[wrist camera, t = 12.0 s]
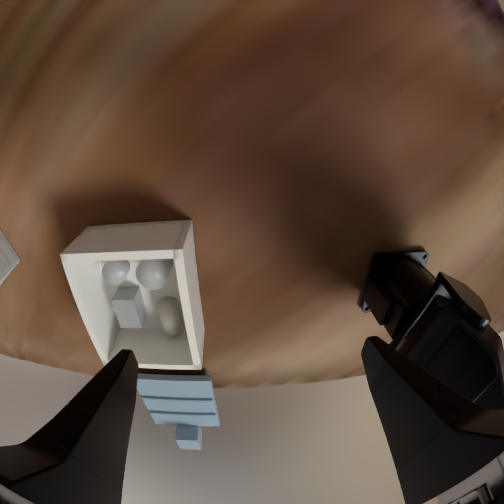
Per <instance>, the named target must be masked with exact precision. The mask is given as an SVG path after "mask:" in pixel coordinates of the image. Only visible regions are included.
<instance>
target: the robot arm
mask: <svg viewBox="0 0 504 504" xmlns="http://www.w3.org/2000/svg"><path fill="white" fill-rule="evenodd" d="M428 256H429V254H428V252H426V251H425V250H416V251H393V252H377V253H375V254H374V256H373V259H372V264H371V268H370V273H369V275H368V277H367V282H366V286H365V290H364V294H363V301H362V305H361V309H362V311H363V312H372V314H373V315H374V317H375V318H376V320H377V322H378V323H379V324H380V325H384V327H385V328H386V330H387V332H388V333H389V335H390V336H391V338H392V339H393V341H392V342H391V343H390V344H387V343H386V342H385V341H383V340H382V339H380V338H379V337H377V336H371V337H367V338H366V340H365V343H364V346H363V349H362V352H361V356H362V360H363V364H364V368H365V372H366V376H367V381H368V384H369V388H370V391H371V394H372V397H373V400H374V403H375V405H376V408H377V411H378V414H379V417H380V420H381V423H382V426H383V429H384V432H385V435H386V438H387V441H388V444H389V447H390V450H391V454H392V457H393V461H394V464H395V467H396V470H397V474H398V478H399V482H400V485H401V489H402V492H403V496H404V500H405V504H423V503H425V502H427V501H429V500H430V499H432V498H434V497H437V499H438V502H439V504H504V350H503V345H502V340H501V338H500V336H499V335H498V334H497V333H496V332H495V331H494V330H493V329H492V328H491V327H490V326H489V323H490V322H491V318H490V315H489V313H488V311H487V309H486V307H485V305H484V303H483V301H482V299H481V298H480V297H479V296H478V295H477V294H476V293H475V292H473V291H472V290H471V289H470V288H469V287H468V286H467V285H465V284H464V283H462V282H460V281H458V280H456V279H454V278H452V277H450V276H448V275H446V274H444V273H442V272H439V273H438V275H437V279H436V278H435V277H434V276H433V275H432V274H431V273H430V272H429V271H428V270H427V269H426V268H425V267H426V263H427V260H428ZM378 257H380V258H379V259H378V260H377V258H378ZM138 369H139V367H138V362H137V360H136V357H135V355H134V352H133V351H132V350H131V349H122V350H120V351H119V352H118V353H117V354H116V355H115V356H114V357H113V358H112V359H111V360H110V361H109V362H108V363H107V364H106V365H105V366H104V367H103V368H102V369H101V370H100V371H99V372H98V373H97V374H96V375H95V376H94V377H93V378H92V379H91V380H90V381H89V382H88V383H87V384H86V385H85V386H84V387H83V388H82V389H81V390H80V392H78V393H77V395H76V396H75V397H74V398H73V399H72V400H71V401H70V402H69V403H68V405H66V406H65V407H64V408H63V409H62V410H61V411H60V412H59V413H58V414H57V415H56V416H55V417H54V418H53V419H52V420H50V421H49V422H48V423H47V424H46V425H45V426H43V427H42V428H41V429H40V430H39V431H37V432H36V433H35V434H34V435H32V436H31V437H30V438H29V439H28V440H26V441H25V442H23V443H20V444H17V445H11V446H3V447H0V504H121V498H122V487H123V479H124V471H125V463H126V456H127V449H128V442H129V437H130V430H131V425H132V419H133V413H134V408H135V402H136V391H137V380H138Z"/></svg>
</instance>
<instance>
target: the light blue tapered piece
mask: <svg viewBox="0 0 504 504" xmlns="http://www.w3.org/2000/svg"><path fill="white" fill-rule="evenodd" d="M137 390H138V392H139V394H140V396H141V398H142V399H143V401H144V403H145V405H146V407H147V409H148V411H149V412H150V414H151V416H152V418H153V419H154V421H155V423H156V424H166V425H177V426H176V438H175V439H176V442H177V443H178V445H179V447H180V449H195V450H201V442H202V441H201V440H202V439H201V438H202V431H201V428H200V426H220V420H219V415H218V410H217V405H216V400H215V395H214V389H213V384H212V378H211V375H204V376H195V375H157V374H140V373H138V380H137Z"/></svg>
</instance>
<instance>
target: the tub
mask: <svg viewBox="0 0 504 504" xmlns="http://www.w3.org/2000/svg"><path fill="white" fill-rule="evenodd" d="M60 257H61V261H62V264H63V267H64V270H65V273H66V276H67V279H68V282H69V285H70V288H71V291H72V293H73V296H74V299H75V301H76V304H77V307H78V309H79V312H80V314H81V316H82V319H83V321H84V324H85V326H86V328H87V331H88V333H89V335H90V337H91V339H92V342H93V344H94V346H95V348H96V350H97V352H98V354H99V356H100V358H101V360H102V362H103V364H104V365H106V364H107V363H108V362H109V361H110V360H111V359H112V358H113V357H114V356H115V355H116V354H117V353H118V352H119V351H120V350H122V349H131V350H132V351H133V352H134V355H135V357H136V360H137V362H138V367H139V368H150V369H176V370H202V359H203V345H204V331H205V329H204V322H203V314H202V307H201V299H200V291H199V283H198V274H197V265H196V255H195V245H194V235H193V223H192V220H176V221H158V222H141V223H126V224H112V225H99V226H88V227H87V228H86V229H85V230H84V231H83V232H82V233H81V234H80V235H79V236H78V237H77V238H75V239H74V240H73V241H72V242H71V243H70V244H69V245H68V246H67V247H66V248H65V249H64V250H63V251H62V252H61V253H60Z"/></svg>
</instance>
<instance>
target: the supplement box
mask: <svg viewBox="0 0 504 504" xmlns="http://www.w3.org/2000/svg"><path fill="white" fill-rule="evenodd" d="M19 262H20V258H19V257H18V255H17V254H16V252H15V251H14V249H13V248H12V247H11V245H10V243H9V242H8V240H7V239H6V237H5V236H4V234H3V233H2V231H1V229H0V286H1V284H2V282H3V281H4V280H5V278H6V277H7V276H8V275H9V273H10V272H11V271H12V270H13V269H14V267H15V266H16V265H17V264H18V263H19Z"/></svg>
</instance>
